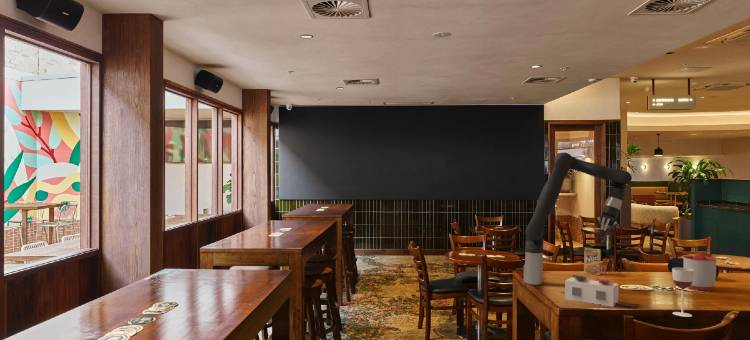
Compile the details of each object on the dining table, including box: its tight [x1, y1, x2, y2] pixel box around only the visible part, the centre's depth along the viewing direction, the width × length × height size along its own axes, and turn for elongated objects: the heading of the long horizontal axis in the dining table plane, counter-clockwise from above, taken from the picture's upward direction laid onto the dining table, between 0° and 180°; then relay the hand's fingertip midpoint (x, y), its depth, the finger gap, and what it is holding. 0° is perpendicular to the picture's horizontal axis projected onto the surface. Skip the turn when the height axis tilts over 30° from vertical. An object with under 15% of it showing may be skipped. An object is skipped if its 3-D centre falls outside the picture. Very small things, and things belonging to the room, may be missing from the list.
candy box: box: [583, 247, 602, 276], centre depth 319 cm, size 9×4×15 cm, turn 59°
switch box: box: [564, 276, 635, 309], centre depth 250 cm, size 30×10×9 cm, turn 53°
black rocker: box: [572, 274, 588, 281], centre depth 255 cm, size 4×9×2 cm, turn 143°
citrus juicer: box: [682, 251, 718, 292], centre depth 283 cm, size 16×17×20 cm
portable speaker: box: [667, 257, 720, 280], centre depth 316 cm, size 26×10×10 cm, turn 35°
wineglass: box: [671, 267, 694, 318], centre depth 231 cm, size 8×9×20 cm
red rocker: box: [596, 277, 611, 284], centre depth 249 cm, size 4×9×2 cm, turn 143°
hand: (601, 237), depth 276 cm, fingers closed
